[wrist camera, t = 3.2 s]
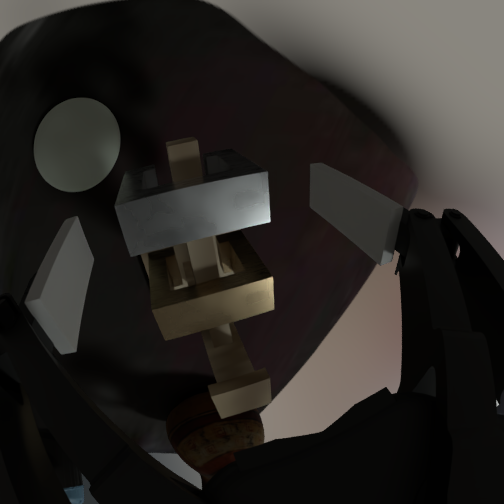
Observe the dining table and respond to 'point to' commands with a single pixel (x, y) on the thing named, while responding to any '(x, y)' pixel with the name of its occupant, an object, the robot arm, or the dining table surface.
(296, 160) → the dining table surface
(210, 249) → the peg stand
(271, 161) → the dining table surface
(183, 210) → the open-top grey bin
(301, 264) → the dining table surface
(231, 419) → the ceramic pitcher
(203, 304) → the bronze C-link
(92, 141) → the felt pad
